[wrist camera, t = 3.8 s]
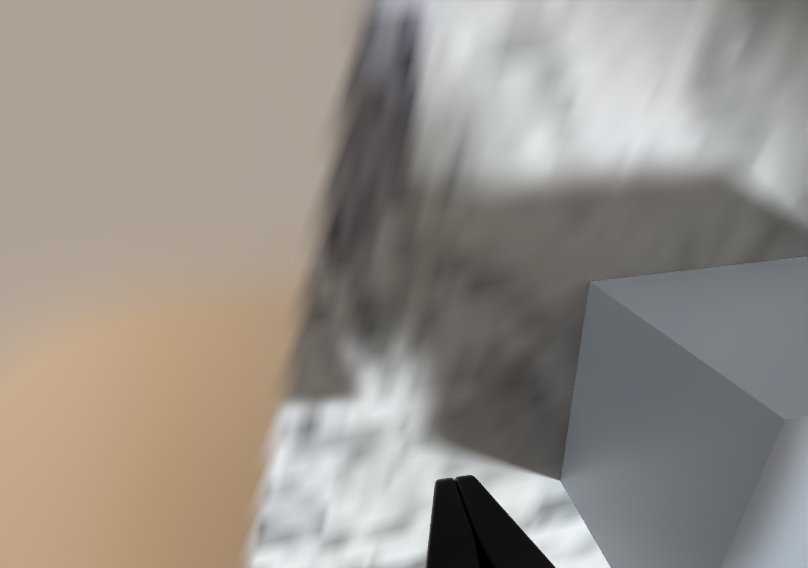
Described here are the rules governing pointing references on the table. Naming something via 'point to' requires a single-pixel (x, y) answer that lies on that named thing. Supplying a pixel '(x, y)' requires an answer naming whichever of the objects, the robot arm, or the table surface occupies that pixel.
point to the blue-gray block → (694, 418)
